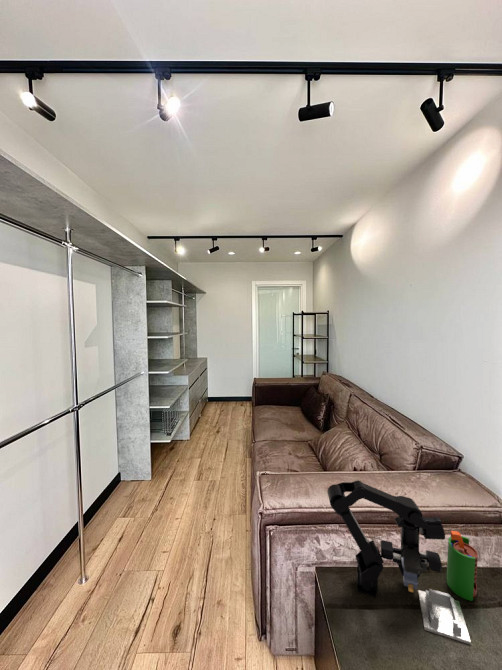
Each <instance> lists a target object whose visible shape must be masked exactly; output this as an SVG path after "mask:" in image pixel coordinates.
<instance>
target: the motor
mask: <svg viewBox="0 0 502 670" xmlns="http://www.w3.org/2000/svg"><path fill="white" fill-rule="evenodd" d="M478 557H479V553H478V551H477V550H476V549H475V548H474V547H473V546H472V545H470V538H469V537H466V536H463V535H462V534H461V533H460V532H459V531H457V530H451V531H450V537H448V541H447V561H446V562H447V563H446V584H447V586H448V588H449V589H450V590H451V591H452V592H453V593H454V594H455V595H457V596H458V597H460V598H461V599H464V600H467V601H474V598H475V597H476V596H477V593H478V585H477V576H478V575H477V574H478V573H477V571H478V559H479V558H478Z"/></svg>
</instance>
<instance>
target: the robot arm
mask: <svg viewBox="0 0 502 670" xmlns="http://www.w3.org/2000/svg"><path fill="white" fill-rule="evenodd" d="M326 491H327V496H328V500H329V503H330V507H331V508H332V509H333V511H334V512H335V513H336V514H337V515H338V516H340V517H341V518H342V520H343V522H344V523H345V526H346V527H347V529H348V531H349V532H350V534H351V536H352V538H353V539H354V541H355V543H356V545H357V546H358V548H359V550H360V551H359V552H358V553H356V554H355V560H356V562H357V568H356V591H357V592H359V593H363V594H366V595H369V596H373V597H377V591H379V587H378V586H379V576H380V575H381V573H382V571H383V570H384V565H383V564H385V562H384V560H383V559H385V560H389V561H392V562H393V563H395V564H397V566H398V570H400V571H399V572H400V575H401V577H403V566H402V557H403V562H404V570H405V571H406V572H411V573H414V574H417V580H419V578H420V576H421V574H423V573H424V574H425V572H428V571H429V570H431V571H432V572H437V573H442V572H443V563H442V560H441V556H440V554H439V553H438V552H436V551H431V550H425V552H423V551H420V535H421V536H423V537H424V539H425V540H439V541H440V540H442V541H443V540H445V538H446V533H445V529H444V527H443V522H442V520H441V519H440V517H439V516H437V517H434V516H433V517H426V516H425V517H424V516H423V513H422V511H421V509H420V508H419V506H418V505H417V503H416V502H415V501H414V499H413V498H411V497H407V496H403V495H397V496H396V495H392V494H391V493H388V492H385V491H382V490H381V489H378V488H376V487H374V486H370V485H368V484H366V483H364V482H362V481H361V480H354V481H349V482H348V481H347V482H345V481H343V482H339V483H337V484H331V485H329V487H328V488H327V490H326ZM346 492H348V494H347V495H346V494H345V493H346ZM362 499H364V500H366V501H368V502H370V503H373V504H376V505H378V506H380V507H383V508H385V509H388V510H390V511H392V512H393V513H395V514H396V515H398V516H396V517H395V518H394V521H395V524H396V525H397V527H398V528H400V548H399V547H394V546H393V542H392V541H388V540H383V539H381V541H380V549H379V547H378V546H377V545H376V543H375V541H374V539H372V540H368V538H367V537H366V534H365V533H364V531H363V529H362V528H361V526H360V524H359V522H358V521H357V519H356V516H355V515H354V514H353V511H352V510H351V508H350V507H351V506H353V505H354V504H356V503H357V502H358V501H359V500H362Z"/></svg>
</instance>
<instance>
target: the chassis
mask: <svg viewBox="0 0 502 670" xmlns="http://www.w3.org/2000/svg"><path fill="white" fill-rule="evenodd" d="M417 592H418V593H417V594H418V598H419V603H420V609H421V612H420V613H421V616H422V623H423V628H424V631H426V632H430V633H432V634H437V635H439V636H442V637H446V638H449V639H452V640H456V641H458V642H461V643H465V644H467V645H472V643H471V638H470V634H469V631H468V628H467V625H466V624H467V623H466V621H465V616H464V613H463V610H462V607H461V603H460V601H459V600H455V599H454V597H452V596H451V595H450V594H449V593H448V592H447V593H446V592H443V591H439V590H436V589H432V588H429V589H428V590H425V591H424V590H420V589H418V590H417Z"/></svg>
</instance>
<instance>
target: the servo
mask: <svg viewBox="0 0 502 670" xmlns="http://www.w3.org/2000/svg"><path fill="white" fill-rule="evenodd" d="M401 559H402V566H403V576H402V579H403V586H404V587H407V589H408V592H410V593H414V589H415V590H417V589H418V585H419V581H418V579H417V574H414V573H411V572H406V571H405V570H404V562H403V557H401Z"/></svg>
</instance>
